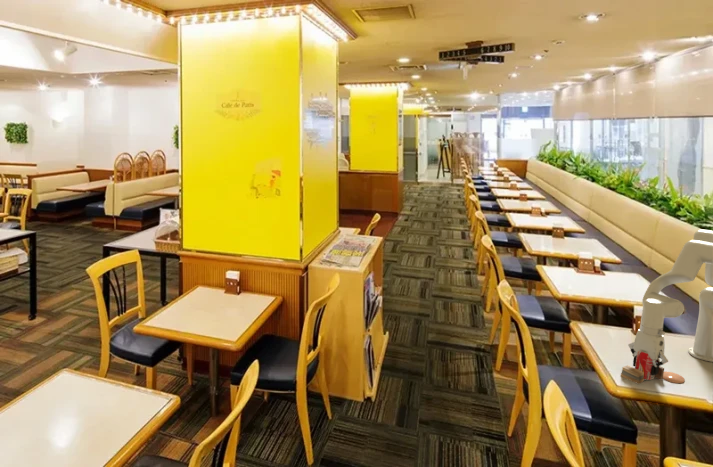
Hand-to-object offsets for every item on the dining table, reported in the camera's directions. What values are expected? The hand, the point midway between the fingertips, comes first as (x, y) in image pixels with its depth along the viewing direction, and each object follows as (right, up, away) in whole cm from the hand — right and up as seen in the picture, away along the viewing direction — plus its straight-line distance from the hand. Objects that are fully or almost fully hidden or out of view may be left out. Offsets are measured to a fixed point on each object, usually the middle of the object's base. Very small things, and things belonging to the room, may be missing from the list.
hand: (645, 369), depth 187 cm
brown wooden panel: (+4, -3, +2) cm, 6 cm away
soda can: (0, -3, +1) cm, 3 cm away
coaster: (+11, -3, 0) cm, 12 cm away
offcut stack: (-6, -4, 0) cm, 7 cm away
